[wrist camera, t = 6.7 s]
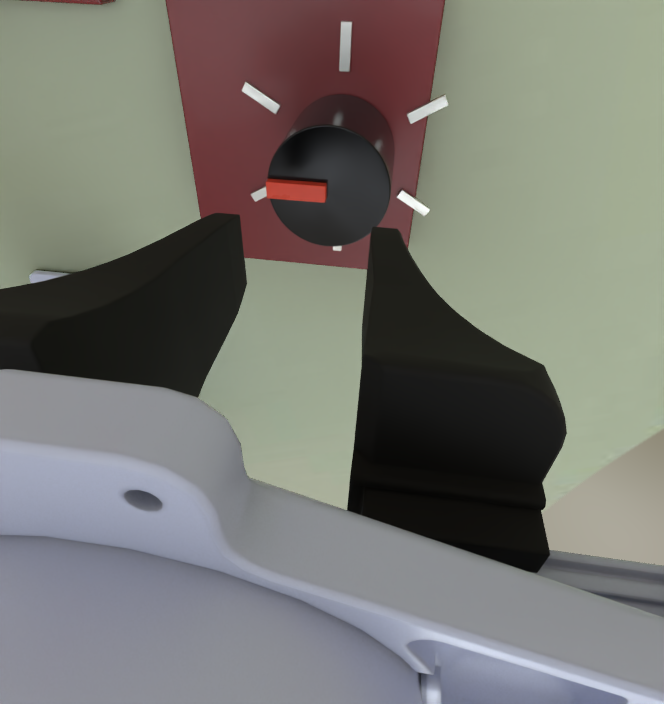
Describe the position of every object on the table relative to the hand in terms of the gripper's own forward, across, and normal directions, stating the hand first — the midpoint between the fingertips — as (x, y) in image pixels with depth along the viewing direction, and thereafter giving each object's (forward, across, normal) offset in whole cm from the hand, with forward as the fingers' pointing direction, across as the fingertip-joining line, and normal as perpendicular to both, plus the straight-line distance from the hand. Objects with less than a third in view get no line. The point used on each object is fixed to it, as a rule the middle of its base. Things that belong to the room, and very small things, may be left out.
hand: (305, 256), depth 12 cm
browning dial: (+8, 0, 0) cm, 8 cm away
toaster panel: (+10, +2, 0) cm, 11 cm away
